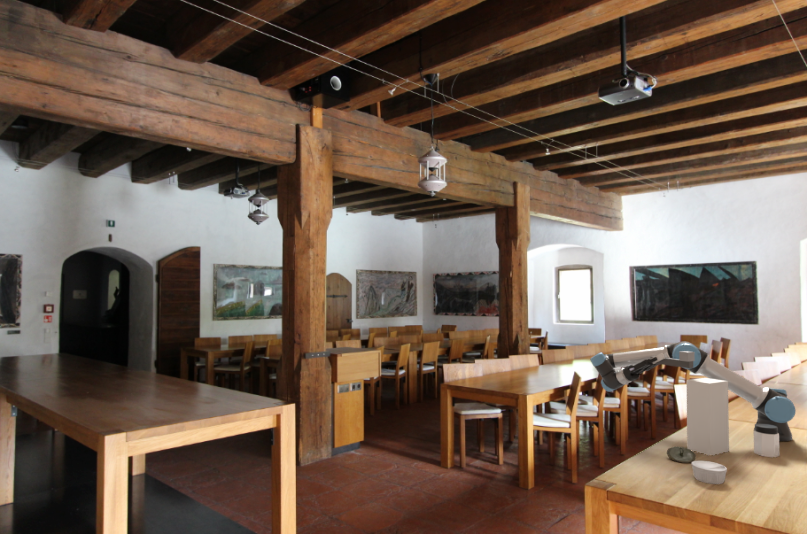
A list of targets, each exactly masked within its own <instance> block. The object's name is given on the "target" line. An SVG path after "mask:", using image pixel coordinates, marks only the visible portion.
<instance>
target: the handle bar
mask: <svg viewBox="0 0 807 534" xmlns="http://www.w3.org/2000/svg"><path fill="white" fill-rule="evenodd" d="M653 357H655V356H652V357H651V358H653ZM693 361H695V355H694V352H690V351H680V352H679V359H672V358H665V359H663V360H661V361H659V362H657V363H655V364H659V365H664V366H670V367H677V368H682V367H684V368H683V369H686V368H693Z"/></svg>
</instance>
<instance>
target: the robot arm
mask: <svg viewBox="0 0 807 534" xmlns="http://www.w3.org/2000/svg"><path fill="white" fill-rule="evenodd" d="M680 351H690V352H694V355H695V361H693V368H684V367H681V368H683V369H685V370H687V371H689V372H691V373H692V374H693V375H697V374H701V375H702V376H703V377H705V378H710V379H717V380H724V381H728V391H730V392H731V393H733V394H735V395H737V396H738V397H740V398H742V399H743V400H745V401H747V402H748V403H751V406H752V408H753V409H754V410H756V411H757V419H756V423H755V424H769V425H774V426H776V427H778V433H779V442H789V441H790V440H791V441H792V440H793V434H792V433H793V432H791V428H790V425H789V422H790V421H792V420H793V419H794V417H795V416H796V412H797V411H796V410H797V409H796V406H795V404H794V403H793V402H792V401H793V400H790V399H789V398H788V392H787V390H786V389H782V388H771V387H768V386H767V387H766V386H765V387H761V386H759V385H757V384H756V383H754V382H752V381H751V380H749V379H747V378H746V377H744V376H742V375H740V374H739V373H737V372H735V371H733V370H731V369H730V368H728V367H726V366H725V365H722V364H721V363H719V362H718V361H716V360H714V359H712V358H711V357H710V355H709V353H708V352H707V351H704V350H703V349H701V348H699V347H697V346H696V345H695V344H694V343H692V342H689V341H679V342H675V343H671V344H665V345H664V346H663V347H657V348H656V347H654V348H648V349H641V350H639V349H638V350H632V351H631V350H630V351H625V352H615V353H608V354H607V353H606V354H605V353H603V352H602V351H601V352H598V353H597V354H595V355H593V356H592V357H590V360H589V361H590V362H591V364H592V366H593V367H594V368H595V370H596V371H597V373H598V374H599V375H600V377H601V380H600V385H601V387H602V388H603V390H605V391H606V392H612V391H616V390H617V389H621V388H622V387H623V386H625V385H626V386H628V385H629V383H632V382H634V381H636V380H638V379H639V378H640V374H643V373H644V372H648V371H650V370H651V369H654V368H655V367H657V366H659V365H660V364H655V363H657V362H659V361H661V360H663V359H665V358H672V359H679V352H680ZM652 356H655V357H653V358H651V357H652ZM615 368H621V369H618V370H615ZM754 431H755V426H754V427H753V432H754Z"/></svg>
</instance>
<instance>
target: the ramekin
mask: <svg viewBox="0 0 807 534" xmlns="http://www.w3.org/2000/svg"><path fill="white" fill-rule="evenodd" d="M690 464H691V467H692V473H693V476H694V478H695V480H697V481H699V482H702V483H705V484H710V485H722V484H723V483H724V482H725V480H726V476H727V475H726V474H727V472H728V468H727V467H726V466H725V465H723V464H720V463H718V462H713V461H709V460H694V461H692V462H690Z"/></svg>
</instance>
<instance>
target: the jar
mask: <svg viewBox="0 0 807 534" xmlns="http://www.w3.org/2000/svg"><path fill="white" fill-rule="evenodd" d="M754 427H755V431H754V430H753V453H754V454H756V455H758V456H762V457H767V458H773V457H775V458H777V457H780V441H779V433H778V427H776V426H774V425H769V424H756V423H755V424H754Z"/></svg>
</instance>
